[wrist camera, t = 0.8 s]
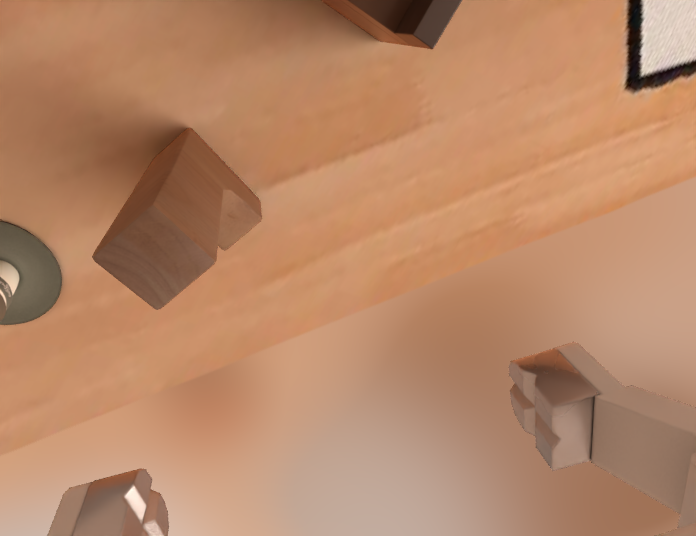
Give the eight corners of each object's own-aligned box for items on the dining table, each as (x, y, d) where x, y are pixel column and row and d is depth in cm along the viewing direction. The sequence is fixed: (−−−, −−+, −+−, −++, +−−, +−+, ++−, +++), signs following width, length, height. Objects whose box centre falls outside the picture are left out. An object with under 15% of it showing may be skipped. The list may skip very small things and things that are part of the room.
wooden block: (152, 159, 31) (88, 259, 18) (189, 125, 31) (152, 202, 18) (225, 230, 34) (217, 361, 21) (261, 200, 34) (275, 314, 21)
